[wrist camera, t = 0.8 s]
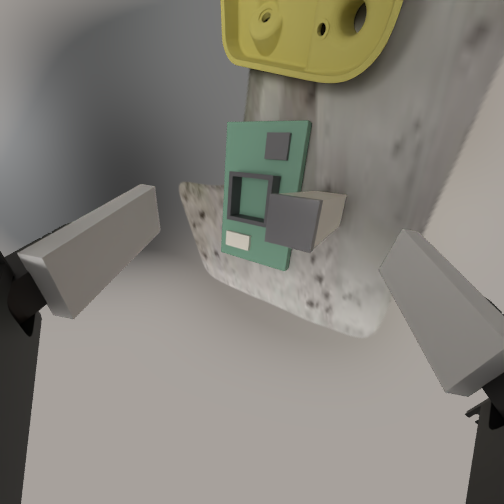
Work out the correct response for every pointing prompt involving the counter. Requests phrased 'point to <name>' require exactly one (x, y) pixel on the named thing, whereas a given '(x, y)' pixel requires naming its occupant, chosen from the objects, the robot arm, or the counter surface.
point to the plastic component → (306, 36)
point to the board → (260, 184)
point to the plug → (303, 218)
